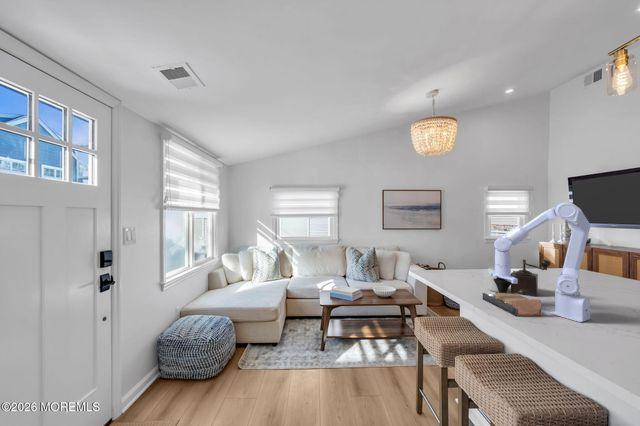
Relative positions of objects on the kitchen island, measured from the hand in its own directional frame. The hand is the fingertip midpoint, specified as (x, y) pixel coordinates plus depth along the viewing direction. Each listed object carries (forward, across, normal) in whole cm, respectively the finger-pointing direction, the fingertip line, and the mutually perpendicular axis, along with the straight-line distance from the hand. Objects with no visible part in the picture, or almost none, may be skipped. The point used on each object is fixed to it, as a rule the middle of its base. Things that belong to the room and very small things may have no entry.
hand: (502, 295), depth 116 cm
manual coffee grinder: (+4, -14, +24) cm, 28 cm away
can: (+4, -18, +10) cm, 21 cm away
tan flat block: (0, +6, 0) cm, 6 cm away
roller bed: (+4, +4, 0) cm, 5 cm away
